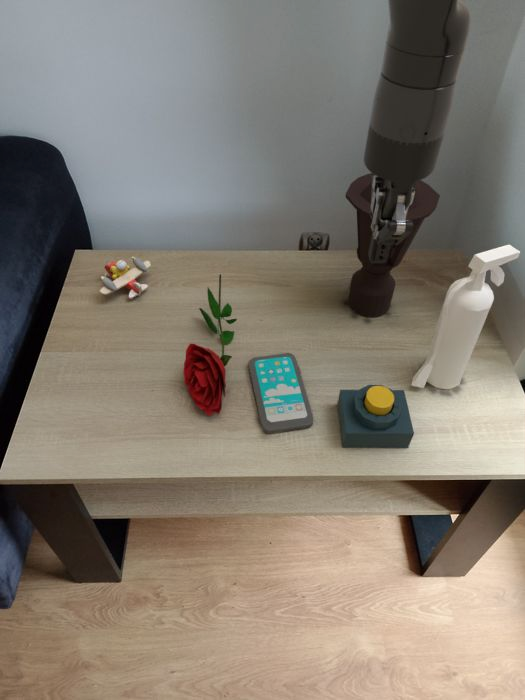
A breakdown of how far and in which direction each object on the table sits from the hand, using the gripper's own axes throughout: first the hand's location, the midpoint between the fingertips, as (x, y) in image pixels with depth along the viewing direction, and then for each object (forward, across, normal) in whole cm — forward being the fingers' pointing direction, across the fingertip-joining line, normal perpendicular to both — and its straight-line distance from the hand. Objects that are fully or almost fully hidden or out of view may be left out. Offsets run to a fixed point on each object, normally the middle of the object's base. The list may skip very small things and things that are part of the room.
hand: (377, 259), depth 64 cm
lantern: (+27, +21, -6) cm, 35 cm away
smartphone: (+27, -1, +11) cm, 29 cm away
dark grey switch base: (+27, -7, -3) cm, 28 cm away
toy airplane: (+27, +25, +41) cm, 55 cm away
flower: (+27, +8, +23) cm, 37 cm away
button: (+21, -7, -3) cm, 23 cm away
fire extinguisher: (+27, +3, -15) cm, 31 cm away
